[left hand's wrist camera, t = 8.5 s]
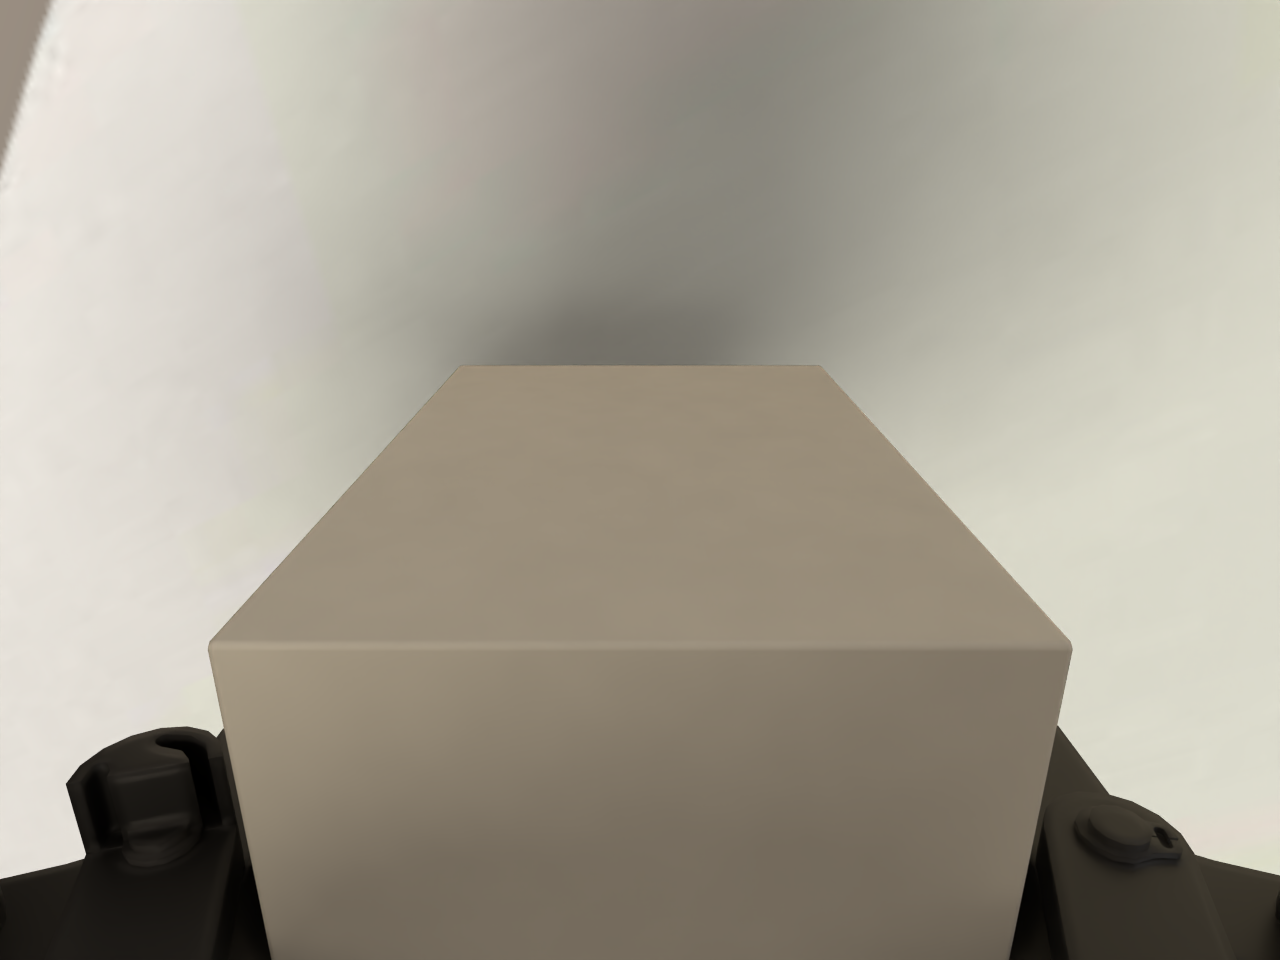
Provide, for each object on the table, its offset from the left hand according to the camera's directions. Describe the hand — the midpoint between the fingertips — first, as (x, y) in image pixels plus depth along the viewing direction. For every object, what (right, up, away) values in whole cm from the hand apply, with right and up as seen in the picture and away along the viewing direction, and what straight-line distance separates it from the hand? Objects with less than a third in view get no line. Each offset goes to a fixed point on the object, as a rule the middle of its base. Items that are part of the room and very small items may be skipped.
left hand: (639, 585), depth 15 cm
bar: (0, -8, +4) cm, 9 cm away
